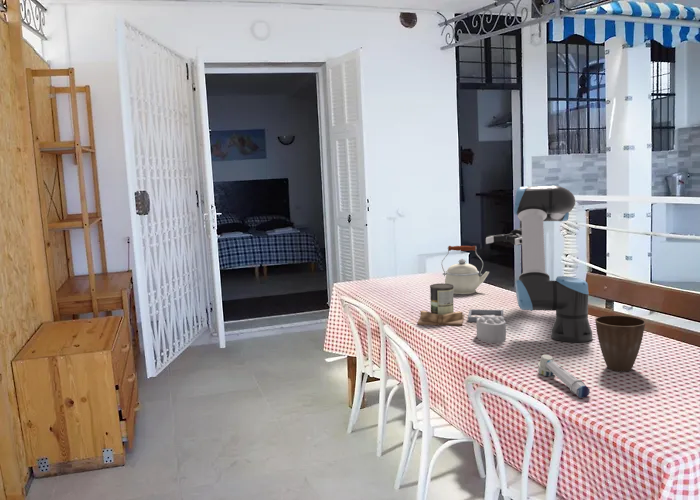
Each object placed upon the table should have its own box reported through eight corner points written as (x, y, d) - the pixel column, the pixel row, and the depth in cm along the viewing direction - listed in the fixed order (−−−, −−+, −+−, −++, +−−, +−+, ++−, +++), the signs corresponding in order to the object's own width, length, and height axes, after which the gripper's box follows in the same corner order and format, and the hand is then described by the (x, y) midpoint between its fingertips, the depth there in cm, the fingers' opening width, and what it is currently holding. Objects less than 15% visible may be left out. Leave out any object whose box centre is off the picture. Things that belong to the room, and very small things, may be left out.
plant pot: (586, 369, 206) (587, 321, 204) (605, 358, 216) (606, 312, 214) (632, 378, 195) (634, 328, 193) (651, 367, 206) (652, 319, 203)
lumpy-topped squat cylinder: (499, 333, 252) (499, 312, 251) (510, 342, 239) (510, 320, 238) (474, 335, 251) (474, 313, 250) (483, 343, 238) (483, 321, 237)
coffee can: (426, 318, 276) (426, 286, 274) (435, 313, 285) (435, 282, 283) (448, 320, 271) (448, 288, 269) (457, 315, 280) (457, 284, 278)
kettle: (440, 295, 330) (439, 248, 326) (443, 288, 347) (442, 243, 344) (489, 295, 324) (488, 248, 320) (489, 288, 341) (489, 243, 338)
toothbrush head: (576, 386, 180) (535, 350, 204) (574, 407, 182) (533, 369, 205) (592, 384, 181) (550, 349, 205) (590, 405, 183) (548, 368, 206)
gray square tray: (503, 322, 269) (503, 318, 268) (467, 321, 272) (467, 317, 272) (503, 314, 283) (503, 310, 283) (469, 313, 287) (469, 309, 286)
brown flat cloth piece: (422, 315, 286) (421, 307, 285) (464, 316, 281) (464, 307, 281) (417, 324, 270) (417, 315, 269) (462, 325, 265) (462, 316, 265)
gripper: (546, 245, 286) (528, 251, 269) (494, 243, 301) (475, 248, 285) (546, 229, 285) (528, 233, 269) (494, 227, 300) (474, 231, 284)
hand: (500, 241), depth 277 cm, fingers open, 13 cm apart
